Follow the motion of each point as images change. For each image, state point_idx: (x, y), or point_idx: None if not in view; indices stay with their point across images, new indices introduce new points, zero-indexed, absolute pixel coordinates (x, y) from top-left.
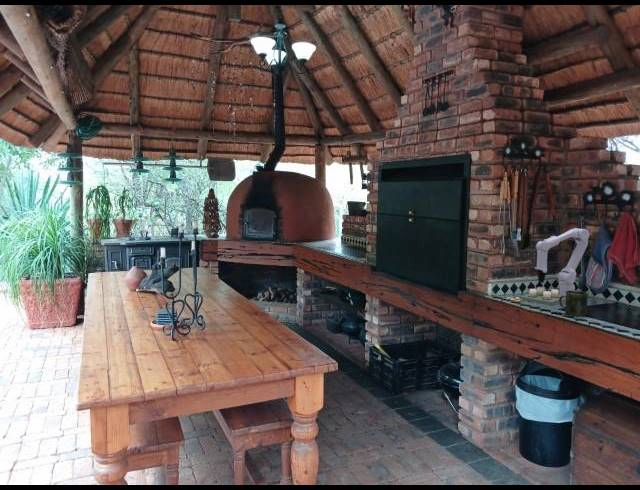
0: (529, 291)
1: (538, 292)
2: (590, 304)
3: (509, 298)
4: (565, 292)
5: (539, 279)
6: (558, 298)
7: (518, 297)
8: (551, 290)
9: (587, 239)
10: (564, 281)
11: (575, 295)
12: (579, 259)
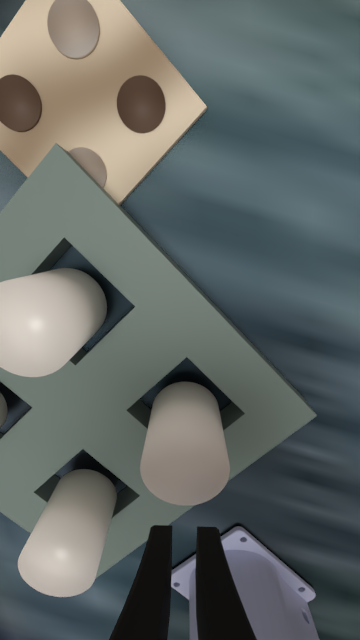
0: (40, 275)
1: (163, 402)
2: (9, 627)
3: (51, 7)
4: (194, 620)
5: (133, 586)
6: (34, 505)
7: (150, 164)
8: (55, 531)
9: None
10: None
11: None
12: None
